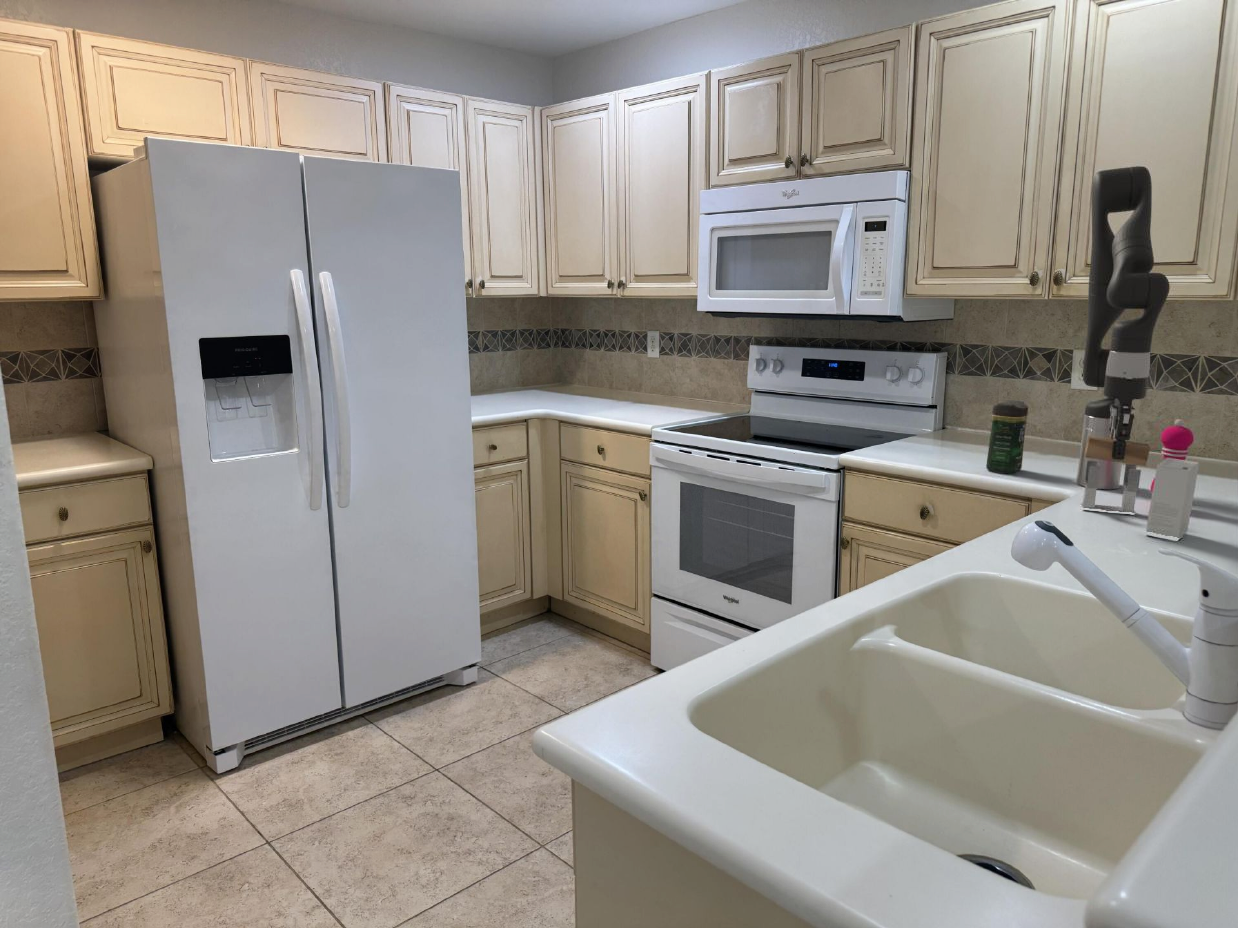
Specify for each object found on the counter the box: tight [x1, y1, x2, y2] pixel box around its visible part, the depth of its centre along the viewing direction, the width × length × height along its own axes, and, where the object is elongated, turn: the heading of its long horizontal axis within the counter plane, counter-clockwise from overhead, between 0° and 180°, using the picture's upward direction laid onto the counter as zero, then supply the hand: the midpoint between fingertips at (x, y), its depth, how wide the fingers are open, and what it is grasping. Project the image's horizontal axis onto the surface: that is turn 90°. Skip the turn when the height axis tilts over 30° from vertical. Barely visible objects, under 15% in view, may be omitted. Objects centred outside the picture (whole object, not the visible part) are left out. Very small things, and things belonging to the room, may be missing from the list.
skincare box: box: [1145, 458, 1200, 538], centre depth 169 cm, size 8×6×15 cm
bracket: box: [1080, 460, 1142, 514], centre depth 187 cm, size 7×10×10 cm
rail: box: [1084, 436, 1151, 467], centre depth 178 cm, size 4×11×4 cm, turn 67°
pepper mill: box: [1150, 418, 1195, 493], centre depth 189 cm, size 7×7×20 cm
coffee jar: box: [985, 400, 1029, 474], centre depth 226 cm, size 10×8×19 cm
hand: (1116, 456), depth 178 cm, fingers closed on rail, 3 cm apart
